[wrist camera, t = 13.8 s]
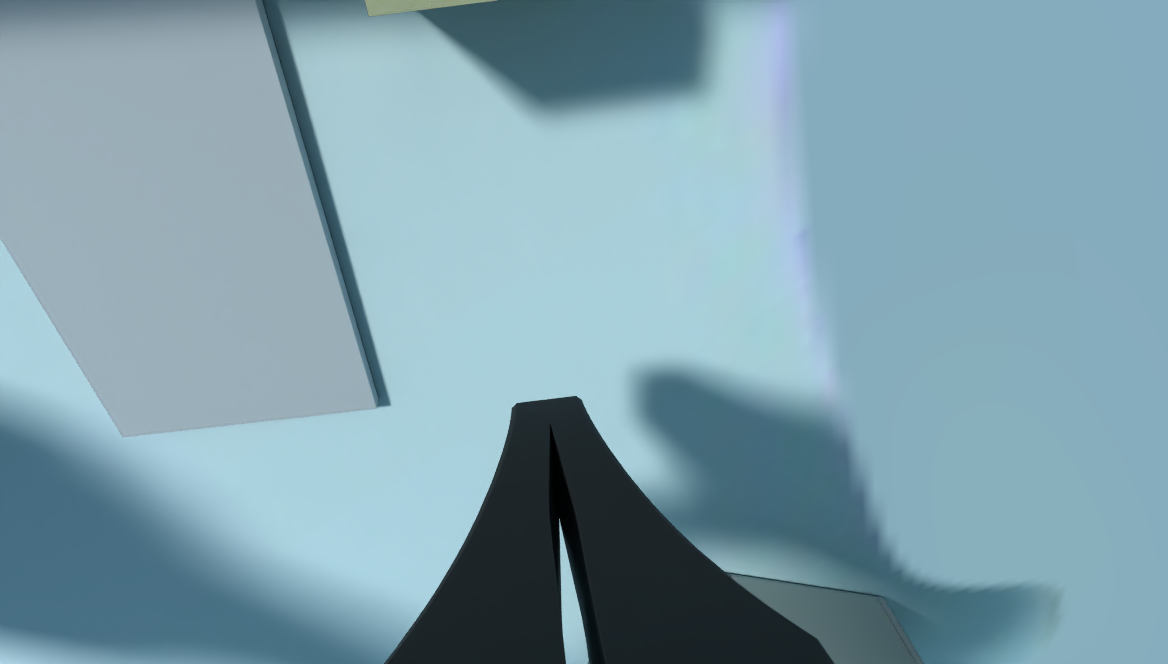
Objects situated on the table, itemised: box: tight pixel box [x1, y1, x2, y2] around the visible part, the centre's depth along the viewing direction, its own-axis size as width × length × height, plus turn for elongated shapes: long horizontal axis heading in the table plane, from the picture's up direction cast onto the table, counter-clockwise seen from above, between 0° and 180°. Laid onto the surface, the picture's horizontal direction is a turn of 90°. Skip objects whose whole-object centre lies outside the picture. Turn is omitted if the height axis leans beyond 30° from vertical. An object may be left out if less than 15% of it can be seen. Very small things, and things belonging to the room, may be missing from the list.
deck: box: [0, 0, 379, 437], centre depth 14 cm, size 11×7×1 cm, turn 2°
